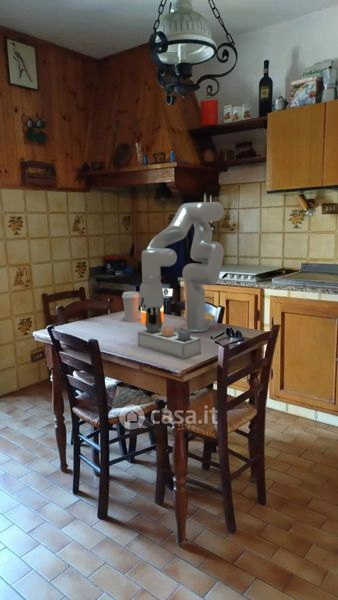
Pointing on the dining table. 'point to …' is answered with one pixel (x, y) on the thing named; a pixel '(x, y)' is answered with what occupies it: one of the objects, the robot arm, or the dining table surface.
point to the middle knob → (167, 332)
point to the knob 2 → (184, 335)
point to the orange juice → (143, 315)
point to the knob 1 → (152, 328)
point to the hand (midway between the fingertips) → (152, 323)
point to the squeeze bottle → (158, 319)
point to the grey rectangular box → (169, 344)
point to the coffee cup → (131, 305)
